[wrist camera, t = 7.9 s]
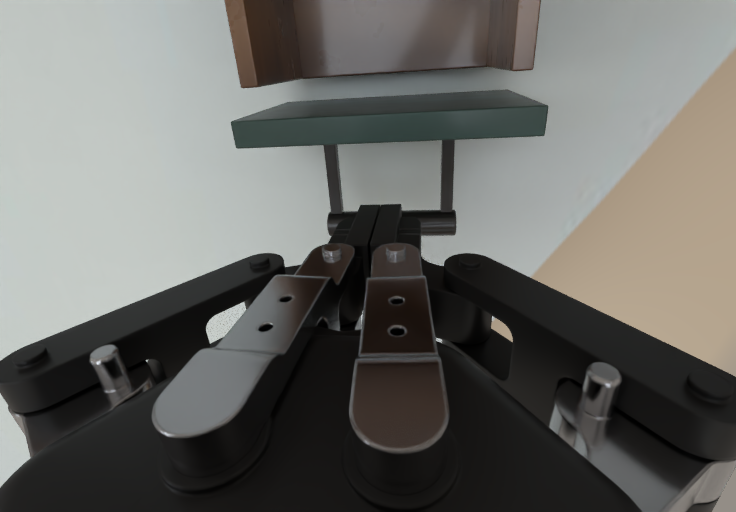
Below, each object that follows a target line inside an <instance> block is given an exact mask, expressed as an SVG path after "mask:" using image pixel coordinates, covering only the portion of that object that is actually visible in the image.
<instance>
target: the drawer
mask: <svg viewBox="0 0 736 512" xmlns="http://www.w3.org/2000/svg"><path fill="white" fill-rule="evenodd" d="M540 3H541V0H225V5H226V11H227V16H228V21H229V26H230V32H231V37H232V42H233V48H234V53H235V58H236V63H237V69H238V74H239V79H240V84H241V88H253V87H261V86H267V85H272V84H277V83H282V82H288V81H293V80H298V79H307V78H322V77H338V76H353V75H369V74H384V73H399V72H415V71H430V70H445V69H461V68H476V67H491V68H497V69H503V70H509V71H523V70H533V66H534V57H535V48H536V39H537V30H538V21H539V12H540ZM547 113H548V105H545V104H543V103H540V102H538V101H535V100H532V99H530V98H527V97H525V96H522V95H520V94H517V93H515V92H512V91H510V90H492V91H475V92H457V93H439V94H422V95H404V96H387V97H369V98H352V99H334V100H317V101H299V102H287V103H284V104H281V105H278V106H275V107H272V108H269V109H266V110H263V111H260V112H257V113H255V114H252V115H249V116H246V117H243V118H240V119H237V120H234V121H232V122H231V126H232V131H233V135H234V140H235V145H236V148H238V149H239V148H263V147H288V146H312V145H324V152H325V161H326V170H327V179H328V188H329V197H330V206H331V212H330V213H329V215H328V221H327V225H328V232H329V235H330V236H332V235H333V233H334V231H335V229H336V227H337V225H338V223H339V222H341V221H342V220H344V219H346V218H355V217H356V214H357V212H358V211H349V212H343V200H342V190H341V180H340V169H339V159H338V148H337V144H361V143H386V142H410V141H435V140H442V155H441V205H440V209H441V210H409V211H402V217H416V218H417V219H418V220H419V221H420V222H421V236H444V235H455V233H456V211H455V210H452V203H453V174H454V144H455V140H459V139H484V138H508V137H533V136H544V134H545V128H546V121H547Z"/></svg>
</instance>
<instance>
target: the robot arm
mask: <svg viewBox="0 0 736 512" xmlns="http://www.w3.org/2000/svg"><path fill="white" fill-rule="evenodd" d="M242 302H245V306H246V311H245V312H244V314H243V315H242V316H241V317H240V318H239V320H238V321H237V322H236V323H235V324H234V326H233V327H232V328H231V329H230V331H229V332H228V333H227V334H226V335H225V337H223V338H221V339H219V340H217V341H215V342H213V343H211V344H210V343H209V340H208V336H207V333H206V325H207V323H208V321H209V320H210V319H211V318H212V317H213V316H215V315H216V314H218V313H221V312H223V311H225V310H227V309H229V308H231V307H233V306H235V305H237V304H240V303H242ZM362 311H363V318H362V325H361V315H362ZM492 316H494V317H495V318H497V319H499V320H500V321H502V322H503V323H504V324H506V326H507V327H508V328H509V329H510V331H511V333H512V337H513V343H512V342H511V341H509V340H508V339H506V338H505V337H503V336H502V335H500V334H499V333H497V332H496V331H494V330H493V329H491V322H492ZM361 326H362V327H361ZM435 337H436V338H440V339H442V343H440V342H437V341H436V338H435ZM148 359H149V360H148ZM146 360H148V362H146ZM0 393H1V395H2V396H3V398H4V399H5V401H6V402H7V404H8V405H9V406H8V409H9V412H10V413H11V415H12V416H13V418H14V419H15V421H16V422H17V424H18V425H19V427H20V428H21V430H22V431H23V433H24V434H25V436H26V439H27V444H28V448H29V453H30V457H31V458H30V459H29V460H28V461H27V462H25V463H24V464H23V465H22V466H21V467H20V468H19V469H18V470H17V471H16V472H14V473H13V474H12V476H11V477H10V478H9V479H8V480H7V481H6V482H5V483H4V484H3V485H2V486H1V488H0V512H712V510H713V508H714V507H715V505H716V503H717V501H718V499H719V497H720V495H721V493H722V492H723V490H724V488H725V486H726V484H727V482H728V481H729V479H730V477H731V475H732V473H733V471H734V469H735V468H736V377H735V376H733V375H731V374H729V373H727V372H725V371H723V370H721V369H719V368H717V367H715V366H713V365H710V364H708V363H706V362H704V361H702V360H700V359H698V358H696V357H694V356H692V355H690V354H688V353H685V352H683V351H681V350H679V349H677V348H675V347H673V346H671V345H669V344H667V343H665V342H662V341H661V340H658V339H656V338H654V337H652V336H650V335H648V334H646V333H644V332H642V331H640V330H638V329H636V328H634V327H632V326H629V325H627V324H625V323H623V322H621V321H619V320H617V319H615V318H613V317H611V316H609V315H607V314H604V313H602V312H600V311H598V310H596V309H594V308H592V307H590V306H588V305H586V304H584V303H582V302H580V301H577V300H575V299H573V298H571V297H569V296H567V295H565V294H562V293H561V292H559V291H557V290H554V289H552V288H550V287H548V286H546V285H544V284H542V283H540V282H538V281H536V280H534V279H532V278H530V277H528V276H525V275H523V274H521V273H519V272H517V271H515V270H513V269H511V268H509V267H507V266H505V265H503V264H501V263H498V262H496V261H494V260H492V259H490V258H488V257H486V256H483V255H478V254H470V253H465V254H457V255H454V256H451V257H449V258H447V259H446V260H445V262H444V266H439V265H435V264H432V263H429V262H427V261H425V260H424V259H423V258H422V257H421V222H420V221H419V220H418V219H417V218H416V217H402V207H401V204H386V205H381V206H380V205H360V207H359V210H358V212H357V214H356V217H355V218H346V219H344V220H342V221H341V222H339V223H338V225H337V227H336V229H335V231H334V233H333V235H332V237H331V239H330V241H329V242H328V244H325V245H322V246H319V247H317V248H315V249H313V250H312V251H311V252H310V254H309V255H308V256H307V258H306V259H305V260H304V262H303V263H302V265H297V266H291V267H285V266H284V260H283V258H282V257H281V256H280V255H277V254H272V253H263V254H257V255H253V256H250V257H247V258H245V259H242V260H240V261H237V262H235V263H232V264H230V265H227V266H225V267H222V268H220V269H217V270H215V271H212V272H210V273H207V274H205V275H202V276H200V277H197V278H195V279H192V280H190V281H187V282H185V283H182V284H180V285H177V286H175V287H172V288H170V289H167V290H165V291H162V292H160V293H157V294H155V295H152V296H150V297H147V298H145V299H142V300H140V301H137V302H135V303H132V304H130V305H127V306H125V307H122V308H120V309H117V310H115V311H112V312H110V313H107V314H105V315H102V316H100V317H97V318H95V319H92V320H90V321H87V322H85V323H82V324H80V325H77V326H75V327H72V328H70V329H67V330H65V331H62V332H60V333H57V334H55V335H52V336H50V337H47V338H45V339H42V340H40V341H38V342H35V343H33V344H30V345H28V346H25V347H23V348H21V349H19V350H17V351H15V352H13V353H11V354H10V355H8V356H7V357H5V358H4V359H3V360H1V361H0Z"/></svg>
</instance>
